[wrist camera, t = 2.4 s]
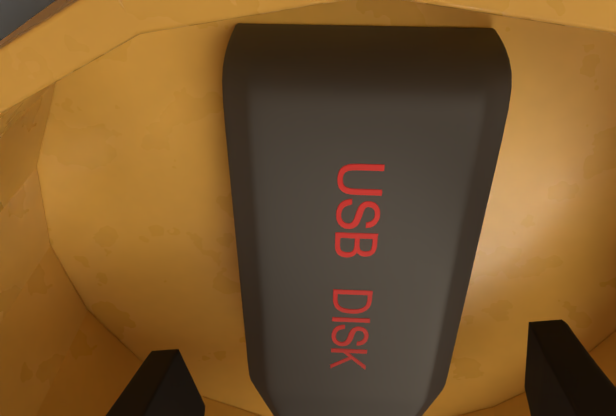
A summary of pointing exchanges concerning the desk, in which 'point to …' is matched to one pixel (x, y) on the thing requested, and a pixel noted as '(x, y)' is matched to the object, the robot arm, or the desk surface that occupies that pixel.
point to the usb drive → (358, 205)
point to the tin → (219, 210)
